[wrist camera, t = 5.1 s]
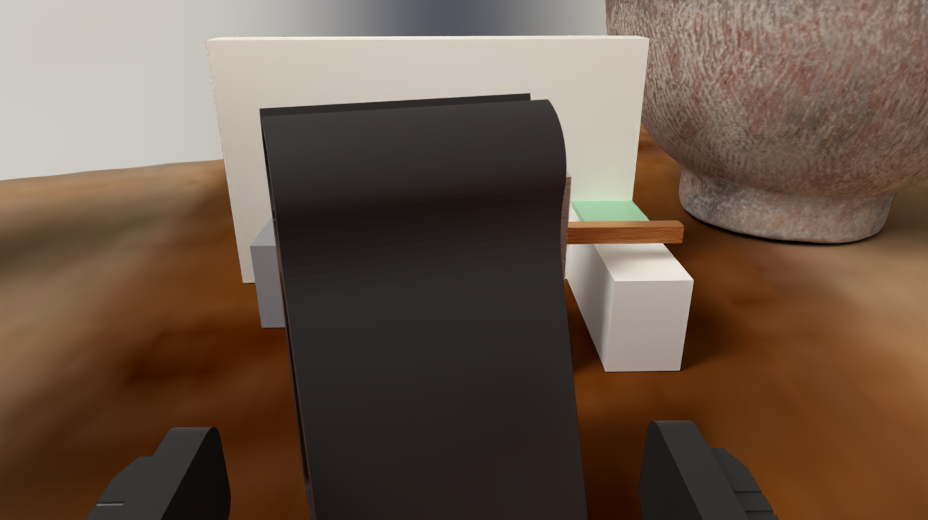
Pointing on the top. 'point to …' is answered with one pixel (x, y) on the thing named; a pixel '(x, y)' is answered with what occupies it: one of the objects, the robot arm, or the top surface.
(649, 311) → the panel and block assembly
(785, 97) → the ceramic pot
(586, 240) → the block and dowel assembly
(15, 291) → the top surface
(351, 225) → the phone stand
